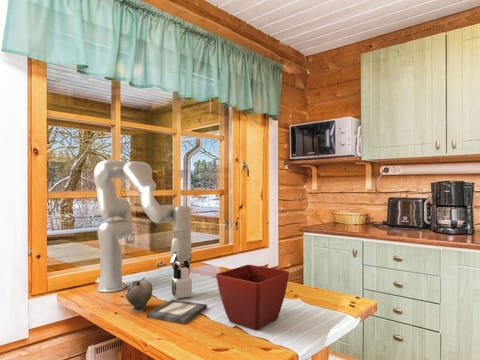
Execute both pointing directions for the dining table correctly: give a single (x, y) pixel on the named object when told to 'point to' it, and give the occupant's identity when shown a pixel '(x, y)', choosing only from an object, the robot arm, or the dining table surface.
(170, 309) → the charcoal board
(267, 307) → the plant pot
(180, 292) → the medicine bottle
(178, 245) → the robot arm
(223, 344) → the dining table surface
